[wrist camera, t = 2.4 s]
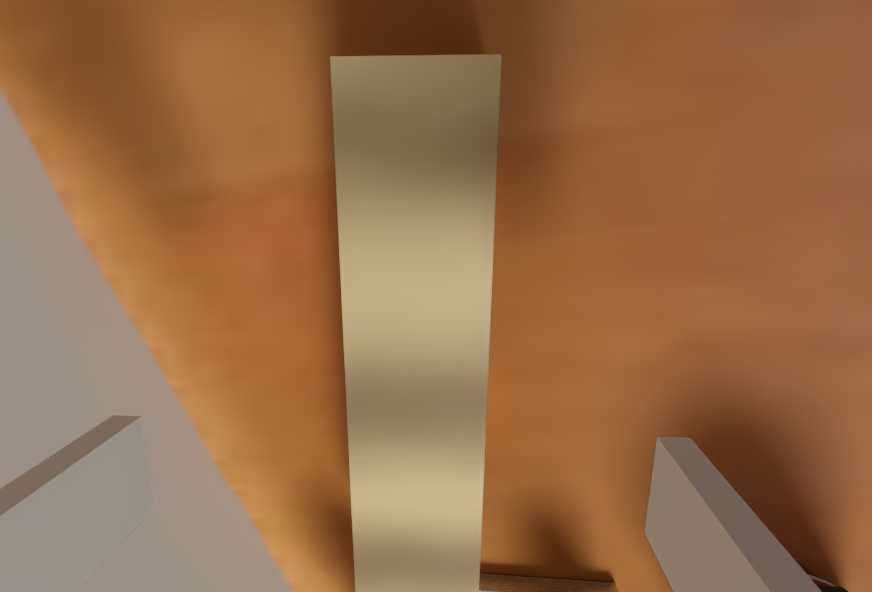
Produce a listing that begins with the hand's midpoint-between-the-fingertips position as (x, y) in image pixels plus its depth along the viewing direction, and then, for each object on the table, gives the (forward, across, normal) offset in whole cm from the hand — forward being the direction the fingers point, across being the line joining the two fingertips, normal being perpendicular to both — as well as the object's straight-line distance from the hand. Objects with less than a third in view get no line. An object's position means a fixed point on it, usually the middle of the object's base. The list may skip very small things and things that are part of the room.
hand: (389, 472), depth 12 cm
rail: (+9, 0, 0) cm, 9 cm away
